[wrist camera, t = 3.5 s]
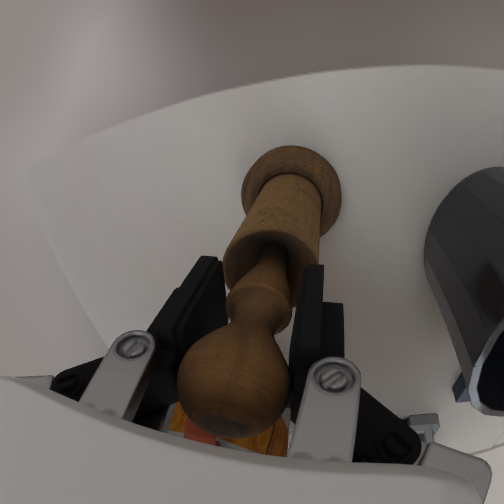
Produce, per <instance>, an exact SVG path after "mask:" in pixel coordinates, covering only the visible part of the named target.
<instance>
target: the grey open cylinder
mask: <svg viewBox="0 0 504 504" xmlns="http://www.w3.org/2000/svg"><path fill="white" fill-rule="evenodd" d="M424 265H425V271H426V275H427V278H428V281H429V284H430V286H431V288H432V291H433V293H434V295H435V298H436V300H437V303H438V305H439V308H440V310H441V313H442V315H443V318H444V321H445V323H446V326H447V329H448V331H449V334H450V337H451V340H452V343H453V345H454V348H455V351H456V354H457V357H458V360H459V364H460V367H461V370H462V373H463V377H464V380H465V383H466V387H467V390H468V394H469V398H470V401H471V405H472V406H473V407H474V408H476V409H477V410H478V411H480V412H481V413H483V414H484V415H490V416H500V417H501V416H504V167H492V168H487V169H483V170H480V171H478V172H475V173H474V174H472V175H470V176H468V177H466V178H465V179H464V180H462V181H461V182H460V183H458V184H457V185H456V186H455V187H454V188H453V189H452V190H451V191H450V192H449V194H448V195H447V196H446V197H445V198H444V200H443V201H442V203H441V204H440V206H439V207H438V209H437V211H436V213H435V215H434V217H433V219H432V221H431V224H430V226H429V229H428V233H427V236H426V241H425V248H424Z"/></svg>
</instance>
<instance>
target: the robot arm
mask: <svg viewBox="0 0 504 504" xmlns="http://www.w3.org/2000/svg"><path fill="white" fill-rule="evenodd" d="M323 281H324V265H320V264H309V265H308V268H304V267H302V272H301V279H300V286H299V293H298V299H297V306H296V312H295V318H294V325H293V331H292V337H291V344H290V353H289V368H288V371H289V373H290V376H291V394H290V399H289V402H288V405H287V407H286V408H291V414H290V420H291V421H292V422H293V423H294V424H295V428H294V431H293V435H292V439H291V442H290V446H289V449H288V453H287V456H286V457H279V456H271V455H264V454H258V453H251V452H246V451H240V450H235V449H229V448H224V447H219V446H215V445H210V444H206V443H201V442H197V441H193V440H189V439H185V438H181V437H178V436H174V435H170V434H167V432H168V429H169V426H170V423H171V420H172V417H173V414H174V411H175V408H176V402H178V401H179V398H178V393H177V374H178V370H179V367H180V364H181V361H182V359H183V357H184V356H185V354H186V352H187V351H188V350H189V348H190V347H191V346H192V345H193V344H194V343H195V342H197V341H198V340H199V339H201V338H202V337H204V336H206V335H207V334H209V333H211V332H213V331H215V330H217V329H219V328H221V327H224V326H226V325H228V315H227V312H226V307H225V304H226V291H225V281H224V271H223V263H222V261H218V258H217V257H213V256H201V257H200V258H199V259H198V261H197V262H196V264H195V265H194V267H193V268H192V270H191V271H190V273H189V274H188V275H187V277H186V278H185V280H184V281H183V283H182V284H181V286H180V287H179V288H176V289H175V290H174V291H173V293H172V294H171V296H170V297H169V299H168V300H167V301H166V303H165V304H164V306H163V307H162V309H161V310H160V312H159V313H158V315H157V316H156V318H155V319H154V321H153V322H152V324H151V325H150V327H149V328H148V330H147V331H142V330H133V331H128V332H126V333H124V334H122V335H120V336H119V337H117V338H116V340H115V341H114V342H113V344H112V345H111V347H110V349H109V351H108V352H107V354H106V355H105V356H104V357H102V358H99V359H96V360H93V361H90V362H88V363H84V364H81V365H79V366H76V367H73V368H70V369H67V370H64V371H63V372H60V373H59V374H58V375H57V376H56V377H55V378H54V376H53V375H47V376H28V377H11V376H0V504H484V501H485V499H486V495H487V492H488V489H489V486H490V483H491V477H492V472H491V468H490V466H489V464H488V463H487V462H486V461H484V460H483V459H481V458H478V457H475V456H472V455H469V454H466V453H463V452H460V451H457V450H455V449H452V448H449V447H446V446H443V445H441V444H438V443H435V442H433V441H430V443H429V444H428V443H426V442H423V441H421V440H420V437H419V435H418V434H417V433H416V432H415V431H414V430H413V429H412V428H411V427H410V426H408V425H407V424H406V423H405V422H403V421H402V420H401V419H400V418H398V417H397V416H396V415H395V414H393V413H392V412H391V411H390V410H388V409H387V408H386V407H385V406H383V405H382V404H381V403H380V402H378V401H377V400H376V399H375V398H373V397H372V396H371V395H370V394H369V393H367V392H366V391H365V390H364V389H362V388H361V374H360V371H359V369H358V368H357V366H356V365H355V364H353V363H352V362H351V361H349V360H347V359H345V358H344V310H343V303H333V302H323Z"/></svg>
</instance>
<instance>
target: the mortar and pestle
mask: <svg viewBox="0 0 504 504" xmlns="http://www.w3.org/2000/svg"><path fill="white" fill-rule="evenodd" d="M241 199H242V205H243V209H244V212H245V214H246V218H245V219H244V221H243V223H242V224H241V226H240V228H239V229H238V231H237V233H236V234H235V236H234V238H233V239H232V241H231V243H230V244H229V246H228V248H227V250H226V252H225V254H224V257H223V262H222V263H223V271H224V281H225V283H226V285H227V287H228V289H229V290H230V292H229V294H228V296H227V298H226V304H225V307H226V312H227V315H228V317H229V318H230V320H231V322H230V323H229V324H228V325H226V326H224V327H221V328H219V329H217V330H215V331H213V332H211V333H209V334H207V335H206V336H204V337H202V338H201V339H199V340H198V341H197V342H195V343H194V344H193V345H192V346H191V347H190V348H189V350H188V351H187V352H186V354H185V356H184V357H183V359H182V361H181V364H180V367H179V370H178V374H177V393H178V398H179V401H180V404H181V407H182V409H183V411H184V413H185V414H186V416H187V417H188V418H189V419H190V420H191V421H192V422H193V423H194V424H195V425H196V426H198V427H199V428H200V429H201V430H203V431H205V432H206V433H209V434H211V435H215V436H219V437H223V438H231V439H243V438H249V437H253V436H256V435H259V434H261V433H263V432H265V431H266V430H268V429H269V428H270V427H272V426H273V425H274V424H275V423H276V422H277V421H278V420H279V418H280V417H281V416H282V414H283V413H284V411H285V409H286V407H287V405H288V402H289V399H290V394H291V376H290V373H289V371H288V365H287V363H286V360H285V358H284V356H283V354H282V352H281V350H280V348H279V347H278V345H277V343H276V341H275V339H274V335H275V334H277V333H280V332H281V331H283V330H284V329H285V328H286V327H287V326H288V325H289V323H290V321H291V318H292V308H294V307H296V306H297V299H298V293H299V286H300V279H301V272H302V267H304V268H308V265H309V264H319V237H321V236H322V235H324V234H325V233H326V232H327V231H328V230H329V229H330V228H331V227H332V226H333V225H334V223H335V221H336V220H337V218H338V215H339V212H340V208H341V189H340V183H339V179H338V176H337V174H336V172H335V170H334V169H333V167H332V166H331V165H330V163H329V162H328V161H327V160H326V159H325V158H323V157H322V156H321V155H319V154H318V153H316V152H314V151H312V150H310V149H308V148H304V147H300V146H282V147H278V148H275V149H273V150H270V151H268V152H267V153H265V154H264V155H263V156H261V157H260V158H259V159H258V160H257V161H256V162H255V164H254V165H253V166H252V167H251V168H250V170H249V171H248V173H247V175H246V177H245V179H244V182H243V185H242V191H241Z"/></svg>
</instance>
